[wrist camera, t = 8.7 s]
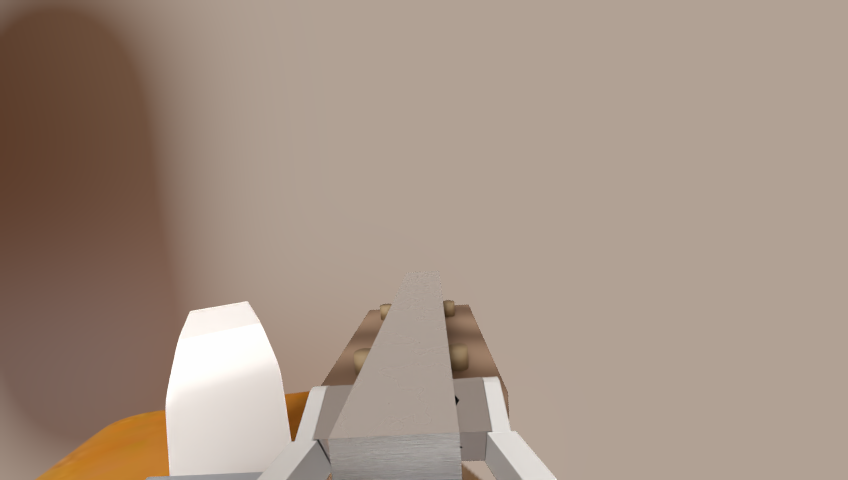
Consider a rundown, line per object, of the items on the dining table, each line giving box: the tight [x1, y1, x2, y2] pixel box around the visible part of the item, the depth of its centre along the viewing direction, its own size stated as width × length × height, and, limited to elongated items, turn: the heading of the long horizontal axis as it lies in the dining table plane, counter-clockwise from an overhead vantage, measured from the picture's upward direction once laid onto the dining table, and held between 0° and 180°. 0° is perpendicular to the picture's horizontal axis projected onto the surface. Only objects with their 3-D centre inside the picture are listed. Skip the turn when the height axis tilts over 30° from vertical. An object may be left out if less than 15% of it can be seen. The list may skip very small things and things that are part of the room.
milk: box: [166, 301, 291, 476], centre depth 38 cm, size 12×12×26 cm
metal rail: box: [328, 271, 462, 480], centre depth 18 cm, size 22×3×2 cm, turn 178°
